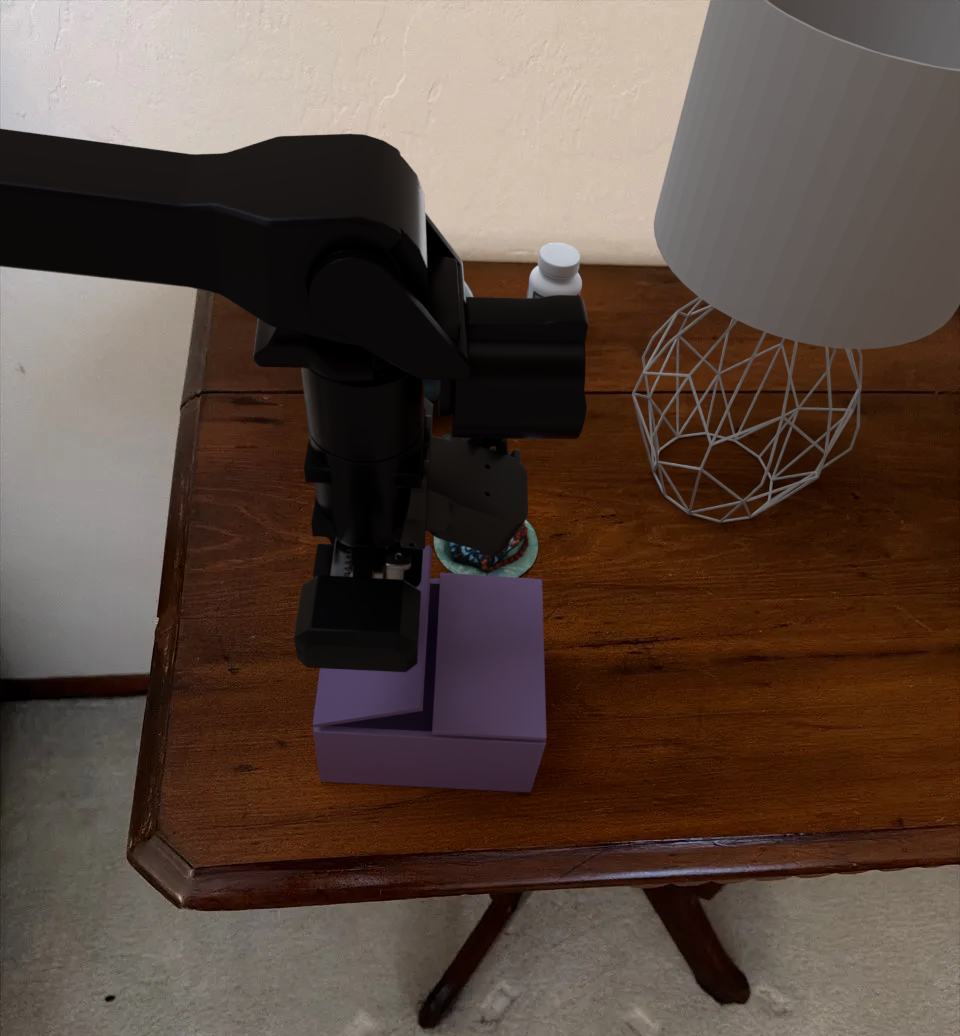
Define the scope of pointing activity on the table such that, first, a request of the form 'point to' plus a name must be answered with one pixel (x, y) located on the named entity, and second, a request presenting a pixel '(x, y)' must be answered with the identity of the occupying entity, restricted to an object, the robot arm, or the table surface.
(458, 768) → the file box
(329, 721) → the flap
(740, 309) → the table lamp
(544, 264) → the pill bottle
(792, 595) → the table surface
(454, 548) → the dish
